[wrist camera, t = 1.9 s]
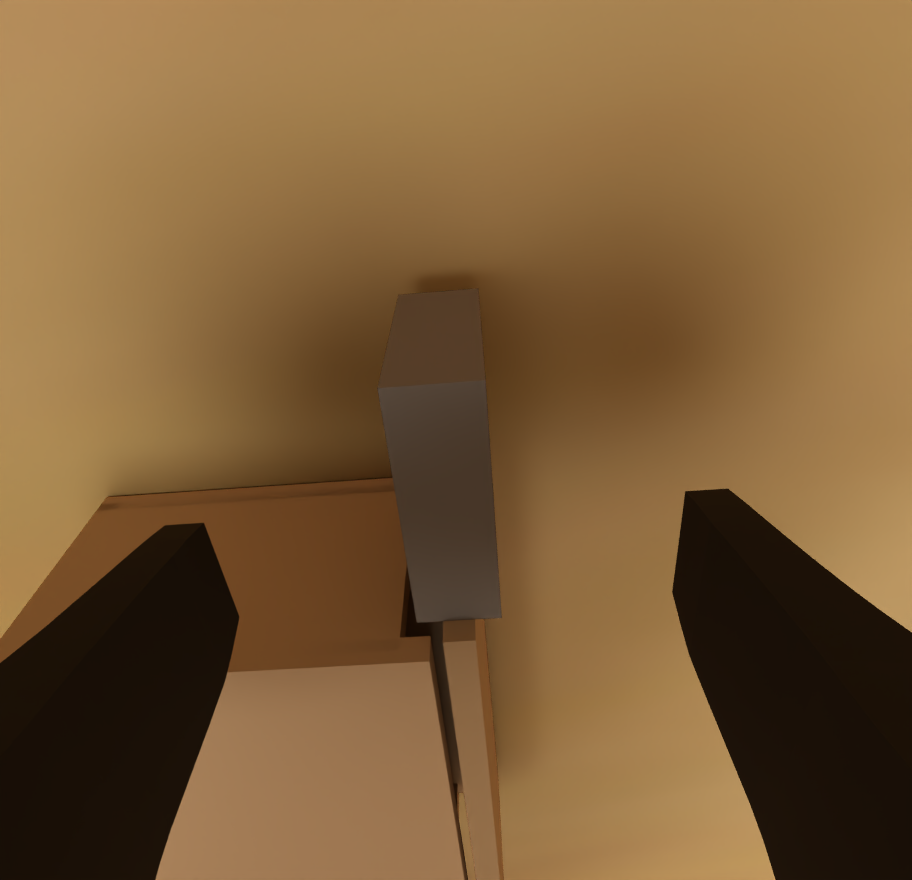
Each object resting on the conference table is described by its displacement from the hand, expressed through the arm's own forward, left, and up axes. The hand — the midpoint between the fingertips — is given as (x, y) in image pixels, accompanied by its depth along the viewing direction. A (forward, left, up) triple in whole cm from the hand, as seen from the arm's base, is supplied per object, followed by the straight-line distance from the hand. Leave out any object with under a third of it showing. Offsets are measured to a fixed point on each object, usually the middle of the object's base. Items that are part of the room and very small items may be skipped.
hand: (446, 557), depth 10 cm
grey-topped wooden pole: (-7, 0, -6) cm, 9 cm away
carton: (-10, +5, -7) cm, 13 cm away
